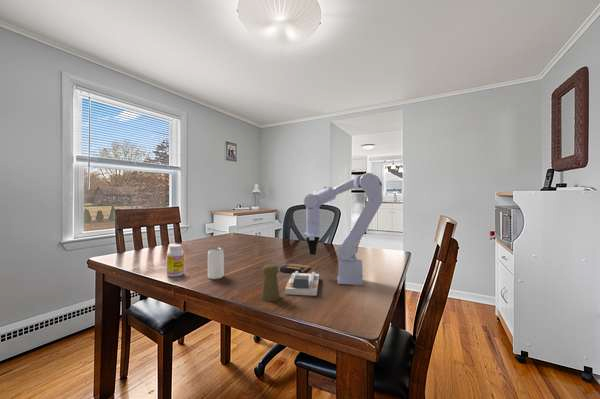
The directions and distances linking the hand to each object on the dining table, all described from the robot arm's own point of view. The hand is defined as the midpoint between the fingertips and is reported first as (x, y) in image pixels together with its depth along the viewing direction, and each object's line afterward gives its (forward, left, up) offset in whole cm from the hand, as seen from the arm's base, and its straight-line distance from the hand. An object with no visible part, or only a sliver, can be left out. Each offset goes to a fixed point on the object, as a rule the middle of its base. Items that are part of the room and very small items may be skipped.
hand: (312, 254), depth 107 cm
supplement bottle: (+60, +5, -10) cm, 61 cm away
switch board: (+3, +12, -9) cm, 15 cm away
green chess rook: (+13, +24, -10) cm, 29 cm away
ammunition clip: (+10, -3, -8) cm, 14 cm away
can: (+41, +6, -10) cm, 42 cm away
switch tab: (+3, +18, -7) cm, 20 cm away
